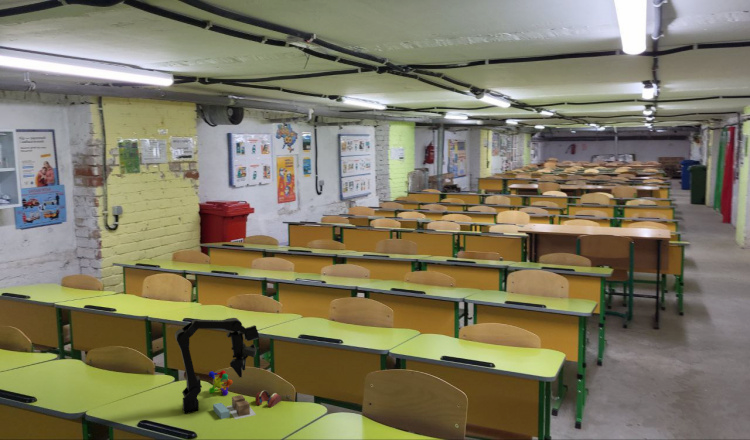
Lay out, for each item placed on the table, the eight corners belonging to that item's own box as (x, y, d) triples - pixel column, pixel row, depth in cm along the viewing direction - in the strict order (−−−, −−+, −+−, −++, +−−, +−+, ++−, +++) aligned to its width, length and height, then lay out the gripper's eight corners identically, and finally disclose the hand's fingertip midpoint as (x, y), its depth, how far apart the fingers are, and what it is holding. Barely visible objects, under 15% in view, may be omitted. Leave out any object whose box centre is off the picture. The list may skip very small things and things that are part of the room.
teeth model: (273, 396, 283) (253, 392, 288) (273, 409, 283) (253, 405, 288) (283, 390, 291) (263, 387, 296) (283, 403, 291) (263, 400, 296)
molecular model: (207, 393, 304) (206, 371, 303) (216, 389, 310) (216, 367, 309) (224, 397, 299) (224, 375, 298) (234, 392, 305) (233, 371, 304)
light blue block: (229, 418, 274) (229, 411, 273) (221, 420, 272) (221, 413, 271) (221, 409, 284) (221, 402, 284) (213, 411, 282) (213, 404, 281)
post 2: (239, 416, 274) (238, 406, 274) (236, 412, 278) (236, 402, 278) (249, 414, 276) (249, 403, 276) (246, 410, 281) (246, 400, 280)
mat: (235, 419, 271) (235, 419, 271) (226, 407, 286) (226, 406, 286) (256, 415, 276) (256, 414, 276) (246, 403, 291) (246, 402, 291)
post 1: (234, 410, 281) (234, 400, 281) (232, 406, 286) (231, 396, 285) (245, 408, 283) (244, 398, 283) (242, 404, 288) (242, 394, 287)
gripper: (251, 347, 282) (255, 379, 284) (257, 335, 300) (261, 364, 302) (227, 350, 281) (232, 381, 283) (235, 338, 300) (239, 367, 302)
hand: (242, 373), depth 293 cm, fingers open, 9 cm apart
